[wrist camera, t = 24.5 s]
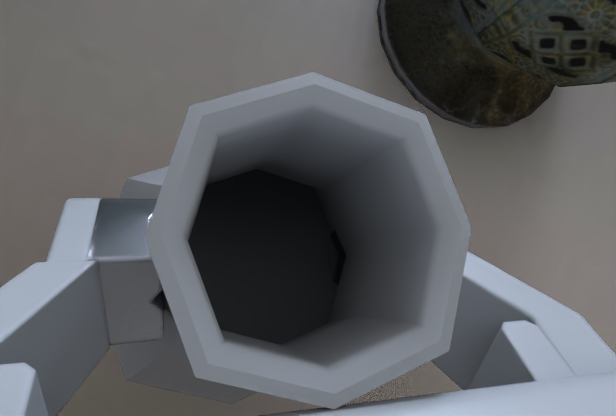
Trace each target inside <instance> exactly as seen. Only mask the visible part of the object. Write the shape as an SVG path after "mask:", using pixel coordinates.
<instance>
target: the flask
mask: <svg viewBox="0 0 616 416" xmlns="http://www.w3.org/2000/svg"><path fill="white" fill-rule="evenodd" d="M120 198H130V199H157V202H156V205H155V208H154V211H153V214H152V217H151V220H150V223H149V226H148V228H147V231H146V234H145V241H146V244H147V247H148V250H149V252H150V255H151V258H152V261H153V264H154V266H155V269H156V272H157V275H158V277H159V280H160V283H161V286H162V288H163V291H164V305H165V313H164V340H156V341H146V342H137V343H127V344H118V345H114V346H115V349H116V352H117V355H118V358H119V360H120V363H121V366H122V369H123V372H124V375H125V378H126V380H127V381H131V382H136V383H140V384H145V385H149V386H154V387H158V388H163V389H167V390H171V391H176V392H180V393H185V394H189V395H194V396H198V397H203V398H207V399H212V400H216V401H221V402H225V403H229V404H233V403H235V402H237V401H239V400H241V399H243V398H245V397H247V396H250V395H252V394H254V393H256V392H261V393H265V394H269V395H274V396H278V397H282V398H286V399H291V400H295V401H299V402H304V403H308V404H312V405H317V406H321V407H325V408H330V409H336V408H338V407H340V406H342V405H344V404H346V403H348V402H350V401H352V400H354V399H356V398H358V397H360V396H362V395H364V394H366V393H368V392H370V391H372V390H374V389H376V388H378V387H379V386H381V385H383V384H385V383H387V382H389V381H391V380H393V379H395V378H397V377H399V376H401V375H403V374H405V373H407V372H409V371H411V370H413V369H415V368H417V367H419V366H421V365H423V364H424V363H426V362H428V361H430V360H432V359H434V358H436V357H438V356H440V355H442V354H444V353H446V352H448V351H449V349H450V344H451V338H452V333H453V327H454V322H455V316H456V311H457V305H458V300H459V294H460V289H461V283H462V278H463V272H464V267H465V261H466V256H467V250H468V245H469V239H470V234H471V228H472V227H471V224H470V222H469V219H468V217H467V214H466V212H465V210H464V207H463V205H462V202H461V200H460V197H459V195H458V192H457V190H456V188H455V185H454V183H453V180H452V178H451V175H450V173H449V170H448V168H447V166H446V163H445V161H444V158H443V156H442V153H441V151H440V148H439V146H438V144H437V141H436V139H435V136H434V134H433V131H432V129H431V127H430V124H429V122H428V119H427V117H426V114H423V113H420V112H418V111H415V110H412V109H410V108H407V107H404V106H402V105H399V104H397V103H394V102H391V101H389V100H386V99H383V98H381V97H378V96H375V95H373V94H370V93H367V92H365V91H362V90H360V89H357V88H354V87H352V86H349V85H346V84H344V83H341V82H338V81H336V80H333V79H330V78H328V77H325V76H322V75H320V74H317V73H315V72H311V73H307V74H304V75H300V76H296V77H293V78H289V79H285V80H281V81H278V82H274V83H270V84H267V85H263V86H259V87H256V88H252V89H248V90H245V91H241V92H237V93H234V94H230V95H226V96H223V97H219V98H215V99H212V100H208V101H204V102H201V103H197V104H193V105H190V106H189V109H188V112H187V115H186V118H185V121H184V124H183V127H182V130H181V132H180V135H179V138H178V141H177V144H176V147H175V150H174V153H173V156H172V159H171V162H170V164H169V166H166V167H163V168H160V169H157V170H153V171H150V172H147V173H144V174H140V175H137V176H134V177H131V178H127V179H126V182H125V185H124V187H123V190H122V193H121V196H120ZM334 230H335V231H336V233H337V236H338V238H339V240H340V242H341V245H342V247H343V249H344V251H345V253H346V258H345V262H344V266H343V270H342V274H341V277H340V281H339V285H337V284H336V283H334V282H333V280H332V277H331V274H330V271H329V266H328V244H329V238H330V234H331V233H332V232H333V231H334Z"/></svg>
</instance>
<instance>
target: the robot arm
mask: <svg viewBox="0 0 616 416" xmlns="http://www.w3.org/2000/svg"><path fill="white" fill-rule="evenodd" d="M156 202H157V199H130V198H102V199H100V198H69V199H68V200H67V201H66V202H65V203H64V206H63V209H62V212H61V215H60V219H59V222H58V225H57V228H56V231H55V234H54V237H53V240H52V244H51V247H50V250H49V253H48V256H47V259H46V262H38V263H34V264H33V265H31V266H30V267H28V268H27V269H26V270H24V271H23V272H21V273H20V274H18V275H17V276H16V277H14V278H13V279H11V280H10V281H9V282H7V283H6V284H4V285H3V286H2V287H0V416H57V415H58V413H59V412H60V411H61V410H62V408H63V407H64V406H65V404H66V403H67V402H68V401H69V399H70V398H71V397H72V396H73V394H74V393H75V392H76V390H77V389H78V388H79V387H80V385H81V384H82V383H83V382H84V380H85V379H86V378H87V376H88V375H89V374H90V373H91V371H92V370H93V369H94V368H95V366H96V365H97V364H98V362H99V361H100V360H101V359H102V357H103V356H104V355H105V354H106V352H107V351H108V350H109V349H110V347H109V345H118V344H127V343H137V342H146V341H156V340H164V313H165V305H164V291H163V288H162V286H161V283H160V280H159V277H158V275H157V272H156V269H155V266H154V264H153V261H152V258H151V255H150V252H149V250H148V247H147V244H146V241H145V234H146V231H147V228H148V226H149V223H150V220H151V217H152V214H153V211H154V208H155V205H156ZM345 258H346V253H345V251H344V249H343V247H342V245H341V242H340V240H339V238H338V236H337V233H336V231H335V230H334V231H333V232H332V233H331V234H330V238H329V244H328V266H329V271H330V274H331V277H332V280H333V282H334V283H336V284H337V285H339V281H340V277H341V274H342V270H343V266H344V262H345ZM431 361H432V362H433V363H434V364H435V365H436V366H437V367H439V368H440V369H441V370H442V371H443V372H444V373H445V374H446V375H447V376H449V377H450V378H451V379H452V380H453V381H454V382H455V383H456V384H457V385H458V386H460V387H461V388H462V389H463V390H461V391H453V392H445V393H437V394H429V395H421V396H413V397H405V398H397V399H389V400H381V401H372V402H364V403H356V404H348V405H342V406H340V407H338V408H336V409H330V408H325V407H324V408H316V409H308V410H300V411H292V412H284V413H275V414H267V415H259V416H616V355H615V353H614V352H613V351H612V350H611V349H610V348H609V347H608V345H607V344H606V343H605V342H604V341H603V340H602V339H601V337H600V336H599V335H598V334H597V333H596V332H595V331H594V329H593V328H592V327H591V326H590V325H589V324H588V323H587V321H586V320H585V319H584V318H583V317H582V316H581V315H580V314H579V313H577V312H575V311H574V310H572V309H570V308H568V307H566V306H565V305H563V304H561V303H559V302H557V301H556V300H554V299H552V298H550V297H549V296H547V295H545V294H543V293H541V292H540V291H538V290H536V289H534V288H532V287H531V286H529V285H527V284H525V283H523V282H522V281H520V280H518V279H516V278H515V277H513V276H511V275H509V274H507V273H506V272H504V271H502V270H500V269H498V268H497V267H495V266H493V265H491V264H490V263H488V262H486V261H484V260H482V259H481V258H479V257H477V256H475V255H473V254H472V253H470V252H468V251H467V256H466V261H465V267H464V272H463V278H462V283H461V289H460V294H459V300H458V305H457V311H456V316H455V322H454V327H453V333H452V338H451V344H450V349H449V351H448V352H446V353H444V354H442V355H440V356H438V357H436V358H434V359H432V360H431Z"/></svg>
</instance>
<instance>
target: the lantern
mask: <svg viewBox="0 0 616 416" xmlns="http://www.w3.org/2000/svg"><path fill="white" fill-rule="evenodd" d="M377 15H378V23H379V31H380V39H381V44H382V46H383V48H384V51H385V53H386V55H387V58H388V60H389V62H390V64H391V67H392V69H393V71H394V73H395V75H396V76H397V77H398V78H399V79H400V81H401V82H402V83H403V84H404V85H405V87H406V88H407V89H408V90H409V92H410V93H411V94H412V95H413V96H414V98H415V99H416V100H418V101H419V102H421V103H422V104H423V105H425V106H426V107H428V108H429V109H431V110H432V111H433V112H435V113H436V114H438V115H439V116H441V117H442V118H444V119H447V120H450V121H453V122H456V123H460V124H463V125H466V126H469V127H472V128H475V127H497V126H508V125H510V124H512V123H514V122H516V121H519V120H521V119H523V118H525V117H527V116H529V115H531V114H532V113H533V112H534V111H535V110H536V109H537V108H538V107H539V106H540V105H541V104H542V103H543V102H544V101H545V100H547V99H548V98H549V96H550V94H551V92H552V90H553V88H554V86H555V85H556V86H559V87H566V86H579V85H591V84H602V83H608V82H615V81H616V0H379V5H378V9H377Z"/></svg>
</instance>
